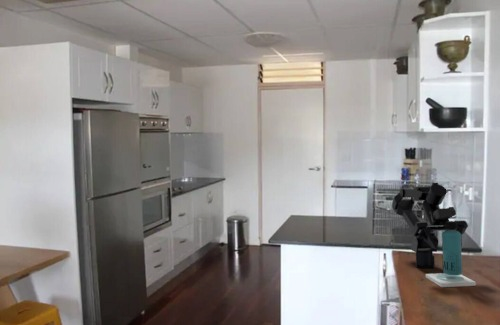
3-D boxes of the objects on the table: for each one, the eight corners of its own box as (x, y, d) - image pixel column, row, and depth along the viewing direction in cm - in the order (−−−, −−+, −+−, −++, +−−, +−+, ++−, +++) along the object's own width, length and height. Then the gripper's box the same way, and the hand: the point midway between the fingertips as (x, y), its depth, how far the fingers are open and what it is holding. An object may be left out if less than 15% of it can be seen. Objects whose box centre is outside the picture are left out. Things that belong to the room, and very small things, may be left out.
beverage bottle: (462, 275, 153) (460, 220, 153) (463, 280, 147) (462, 223, 147) (442, 274, 156) (440, 219, 156) (442, 279, 150) (441, 222, 150)
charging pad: (425, 277, 157) (425, 273, 157) (457, 275, 158) (457, 272, 158) (441, 287, 145) (441, 283, 145) (475, 285, 146) (475, 281, 146)
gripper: (414, 200, 157) (429, 236, 146) (464, 198, 157) (482, 234, 146) (406, 218, 165) (419, 253, 154) (454, 216, 165) (470, 251, 154)
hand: (448, 247), depth 152 cm, fingers open, 9 cm apart
